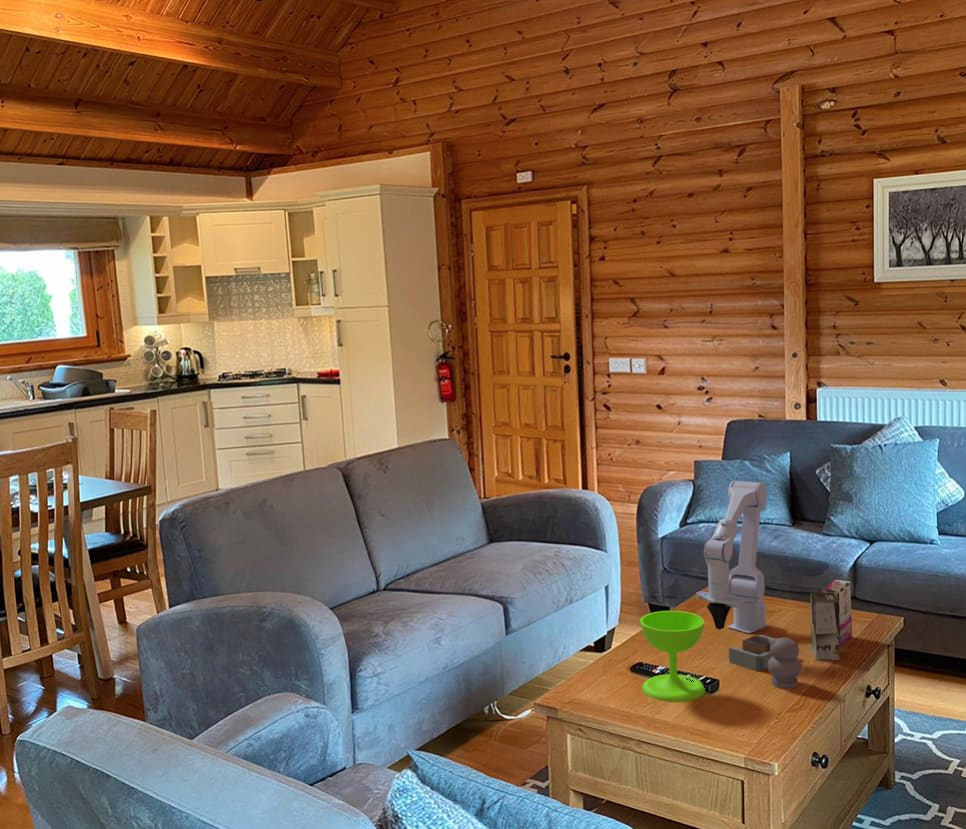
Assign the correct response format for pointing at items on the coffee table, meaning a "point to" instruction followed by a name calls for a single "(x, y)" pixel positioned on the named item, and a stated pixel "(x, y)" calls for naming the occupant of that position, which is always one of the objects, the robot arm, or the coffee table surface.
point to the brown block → (756, 645)
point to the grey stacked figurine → (784, 663)
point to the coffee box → (825, 625)
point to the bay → (750, 658)
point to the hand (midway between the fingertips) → (719, 628)
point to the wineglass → (672, 653)
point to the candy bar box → (842, 607)
